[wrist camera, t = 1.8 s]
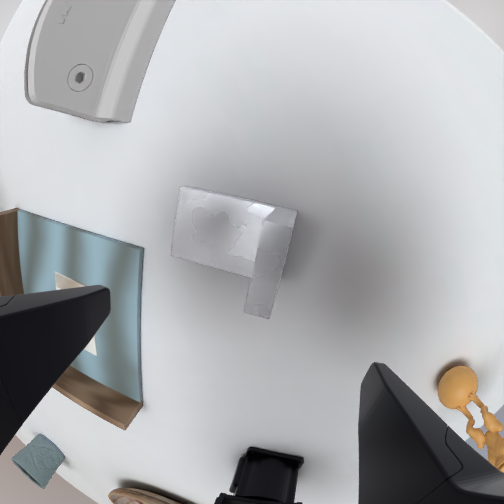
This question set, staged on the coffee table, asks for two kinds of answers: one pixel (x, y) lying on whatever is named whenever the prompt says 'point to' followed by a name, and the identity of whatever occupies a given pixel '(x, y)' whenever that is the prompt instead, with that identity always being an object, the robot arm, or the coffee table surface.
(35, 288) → the corner arena
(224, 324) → the coffee table surface
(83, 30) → the grey arched casing
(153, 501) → the ceramic bowl
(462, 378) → the figurine
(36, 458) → the embossed green cup
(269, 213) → the aluminium bracket
